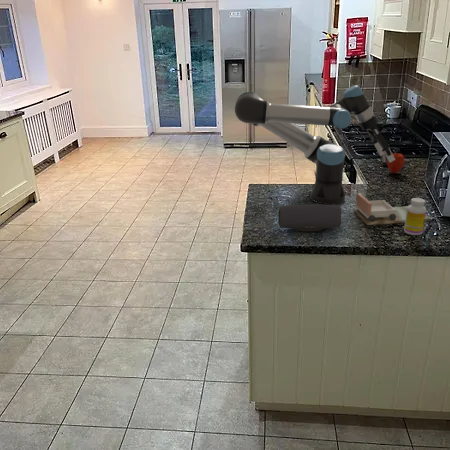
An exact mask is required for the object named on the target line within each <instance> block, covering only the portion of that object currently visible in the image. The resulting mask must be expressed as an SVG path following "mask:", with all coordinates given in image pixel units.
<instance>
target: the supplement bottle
mask: <svg viewBox="0 0 450 450" xmlns="http://www.w3.org/2000/svg"><path fill="white" fill-rule="evenodd" d="M425 203H426V200H425V199H423V198H420V197H413V198H411V200H410V204H409V205H407V206H408V207H407V212H406V218H405V223H404V227H403V231H404V232H405V233H406V234H407V235H412V236H420V235H422V234H423V232H424V228H425V227H424V226H425V222H426V221H425V216H426V215H427V208H426V207H425Z"/></svg>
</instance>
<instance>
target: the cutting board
mask: <svg viewBox="0 0 450 450" xmlns="http://www.w3.org/2000/svg"><path fill="white" fill-rule="evenodd" d="M408 206H409V205H407V206H406V205H404V206H392V207H393V208H394V209H396V210H397V216H396V219H395V220H391V219H390V218H389V217H376V219H375V221H373V222H371V221H370V220H369V218H367V217H365V216H364V215H363V214H362V213H361V212H360V211H359V210H358V209H357V208H356V209H354V213H355V214H356V215H357V217H359V218H360V219H361V220H362V221H363V222H364V223H365V224H366V225H367V226H372V225H388V224H389V225H390V224H403V223H404V224H405V218H406V212H407V207H408ZM431 221H432V218H431V217H430V216H428V215H427V214H426V216H425V222H431Z"/></svg>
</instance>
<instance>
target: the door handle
mask: <svg viewBox="0 0 450 450" xmlns="http://www.w3.org/2000/svg"><path fill="white" fill-rule="evenodd" d="M380 157H381V161H382V164H381V166H382V167H384V168H385V167H388V165H387V160H388V159H387V157H386V155H385V154H383V155H381V156H380ZM404 160H405V161H404V163H410V159H408V158H407V159H406V158H404ZM381 161H380V162H381Z"/></svg>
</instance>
